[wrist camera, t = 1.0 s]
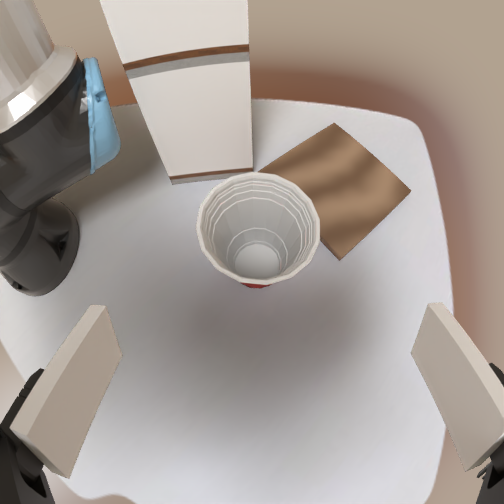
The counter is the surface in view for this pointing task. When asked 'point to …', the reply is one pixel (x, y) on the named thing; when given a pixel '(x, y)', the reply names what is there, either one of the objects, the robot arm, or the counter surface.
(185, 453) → the counter surface
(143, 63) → the white dispenser
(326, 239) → the walnut board
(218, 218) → the plastic cup
